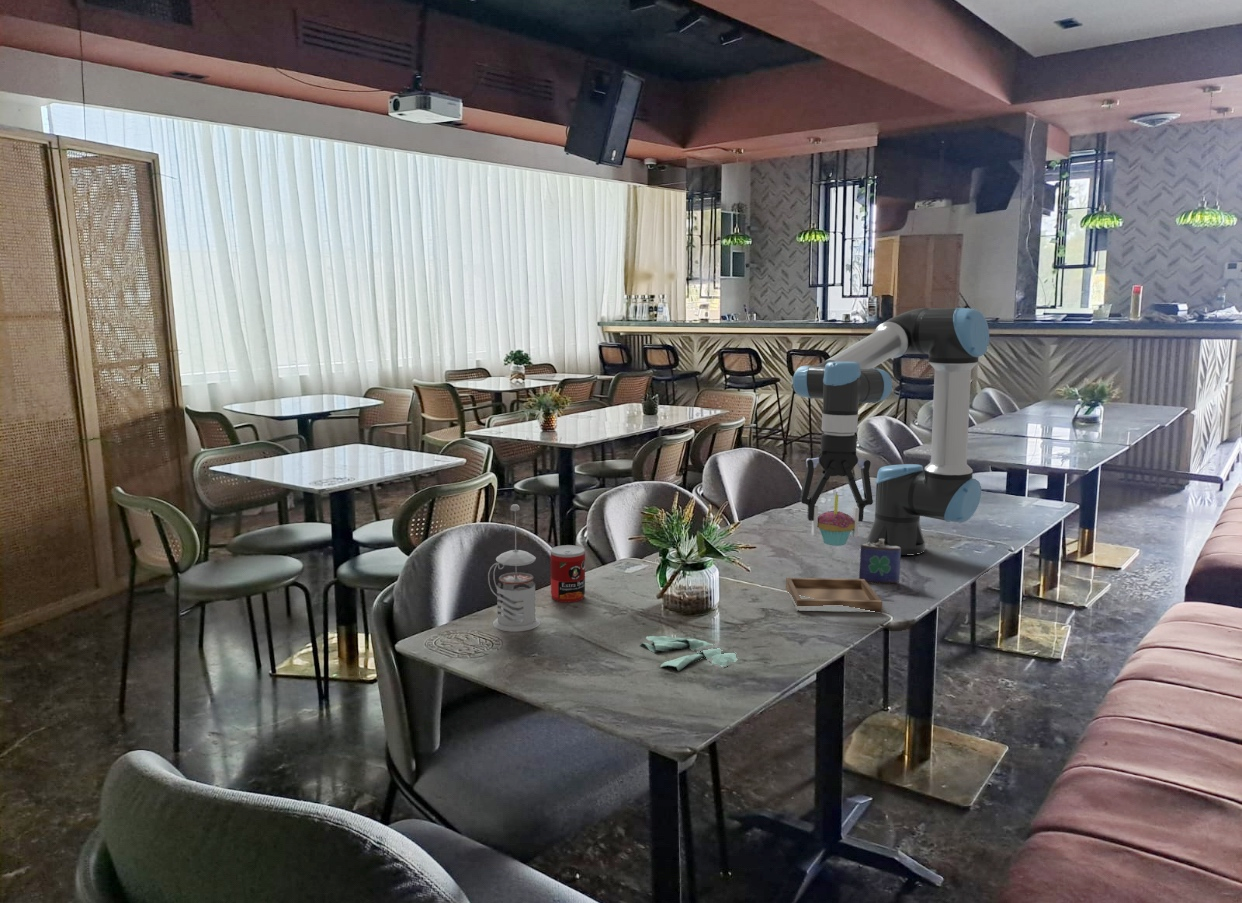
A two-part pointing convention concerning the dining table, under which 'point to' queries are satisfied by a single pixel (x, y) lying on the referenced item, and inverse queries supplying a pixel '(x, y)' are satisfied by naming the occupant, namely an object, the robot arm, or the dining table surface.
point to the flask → (880, 563)
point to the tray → (834, 593)
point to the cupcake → (835, 526)
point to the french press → (515, 591)
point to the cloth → (681, 643)
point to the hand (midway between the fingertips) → (834, 535)
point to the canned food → (567, 573)
